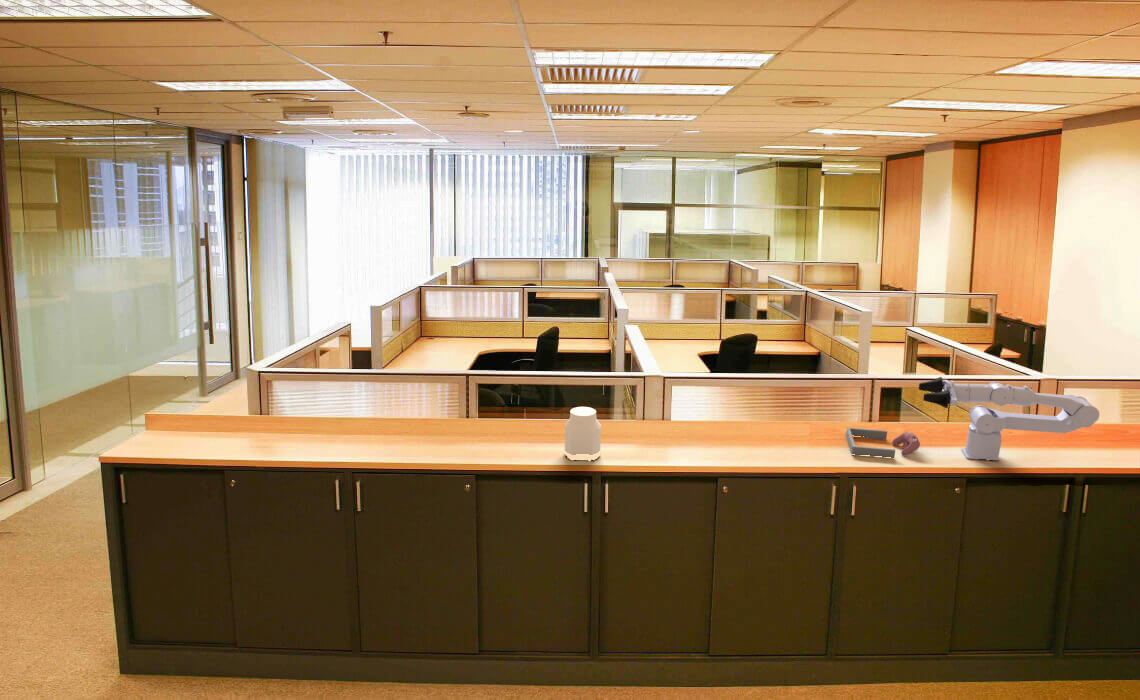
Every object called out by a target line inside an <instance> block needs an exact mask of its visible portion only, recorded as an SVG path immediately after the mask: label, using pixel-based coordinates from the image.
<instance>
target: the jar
mask: <svg viewBox="0 0 1140 700" xmlns="http://www.w3.org/2000/svg"><path fill="white" fill-rule="evenodd" d="M569 413H570V414H569V419H568V420H567V421H566V422H565V424H564V451H566V452H567V453H569V454H571V455H576V454H589V455H593V454H596V453H598V452H599V451H601V434H602V432H601V431H602V424H601V423H600V422H599V420H598V419H597V409H594V408H592V407H590V406H589V407H588V406H577V407H573V408H571V409H570V411H569Z"/></svg>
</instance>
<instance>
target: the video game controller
mask: <svg viewBox="0 0 1140 700" xmlns="http://www.w3.org/2000/svg"><path fill="white" fill-rule="evenodd" d="M891 444H892V445H893V446H899V445H902V448H903V449H902V450H901V453H900V454H901V456H903V455H906V456H909V455H911V454H913V453H914V452H916V451H917V450H918V449H919V448H920V446H921V441H919V438H918V436H917V435H916V434H914V433H913V432H910V431H905V432H903V433H902V434H900V435H898V436H897V437H895V438H894V439H893V440H892V442H891Z"/></svg>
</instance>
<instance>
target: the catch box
mask: <svg viewBox="0 0 1140 700" xmlns="http://www.w3.org/2000/svg"><path fill="white" fill-rule="evenodd" d="M846 428H847V431H846V430H845V437H846V441H847V445H848V448H849V452H850V455H851V454H855V455H870V456H882V457H891V458H894V459H895V457H896V456H895V455H896V449H894V448H884V447H874V446H873V447H872V446H860V445H856V443H855V440H854V439H855V438H854V437H853V436H852V435H854V436H861V437H863V436H864V437H865V438H864V439H869V438H872V439H871V440H882V441H886V440H887V436H888V430H885V429H883V430H881V429H874V428H873V429H871V428H862V427H861V428H860V427H859V428H857V427H847V426H846ZM867 437H868V438H867Z"/></svg>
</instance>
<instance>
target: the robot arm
mask: <svg viewBox="0 0 1140 700" xmlns="http://www.w3.org/2000/svg"><path fill="white" fill-rule="evenodd" d="M918 390H919V391H923V392H927V393H923V401H924V402H928V403H933V404H935V405H938V406H941V407H943V408H945V409H948V407H949V406H951V407H957V406H958V403H993V404H995V405H997V406H1000V407H1002V406H1006V405H1014V406H1020V407H1021V406H1022V407H1031V406H1032V405H1034V404H1036V405H1044V406H1048V407H1055V408H1061V411H1060V413H1058V414H1057V415H1044V414H1031V413H1029V414H1028V413H1017V412H1003V411H1000V410H998V409H996V408H989V407H987V406H984V405H982V404H981V405H976V406H973V407H972V408H971V409H970V410H969V412H968V417H969V419H970V422H971V423H970V424H969V426H968V432H967V437H966V445H965V447H961V448H960V449H961V451H962V452H963V454H964V456H965V457H966V459H970V460H978V459H986V460H985V461H989V460H999V456H1000V451H1001V445H1002V434H1001V432H1002V431H1003V430H1017V431H1028V432H1029V431H1030V432H1038V433H1039V432H1043V433H1045V432H1046V433H1057V434H1067V433H1070V432H1073V431H1076V430H1079V429H1082V428H1083V429H1084V428H1085V429H1087V428H1091V427H1092V426H1093V425H1094V424H1095V423H1096V422H1097V421H1098V420H1099V419H1100V411H1099V409H1098V408H1097V407H1095V406H1093V404H1091V403H1090V402H1089V401H1088V400H1087V399H1086V398H1085V397H1083V396H1078V395H1077V396H1076V395H1073V394H1058V393H1057V394H1056V393H1044V392H1043V393H1041V392H1035V391H1034V390H1033V389H1032V388H1030V387H1029V386H1028V385H1023V386H1013V385H1011V384H1007V383H1006V385H1004V384H1003V383H1000V382H997V381H992V382H989V384H982V383H981V384H980V383H978V384H977V383H955V381H954V380H950V381H949V380H948V379H943V377H942V376H940V377H937V378H935V379H932V380H930V381H928V380H927V381H924V382H920V383H919V384H918ZM987 459H988V460H987ZM999 461H1000V460H999Z"/></svg>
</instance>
